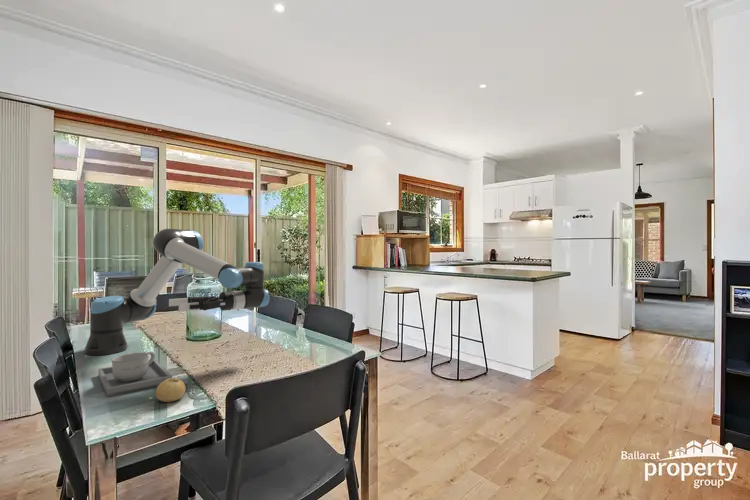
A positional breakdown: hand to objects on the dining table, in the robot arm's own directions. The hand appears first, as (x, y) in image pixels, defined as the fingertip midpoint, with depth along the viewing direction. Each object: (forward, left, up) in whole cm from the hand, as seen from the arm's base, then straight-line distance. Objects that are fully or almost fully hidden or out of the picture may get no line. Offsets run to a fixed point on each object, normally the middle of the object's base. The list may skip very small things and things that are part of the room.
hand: (173, 305), depth 137 cm
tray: (0, -12, -25) cm, 28 cm away
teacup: (0, -12, -24) cm, 27 cm away
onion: (+26, -7, -25) cm, 37 cm away
